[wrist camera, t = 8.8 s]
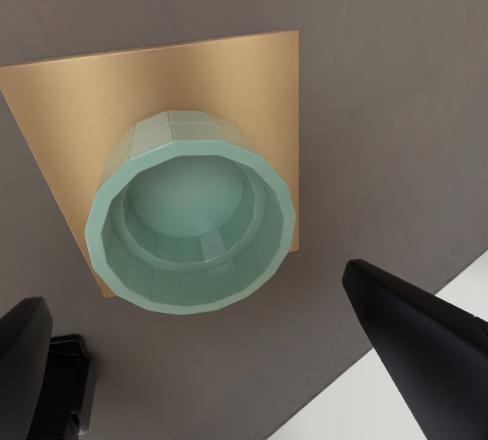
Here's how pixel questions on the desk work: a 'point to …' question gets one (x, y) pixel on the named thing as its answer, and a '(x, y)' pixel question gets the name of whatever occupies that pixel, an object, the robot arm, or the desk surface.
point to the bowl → (188, 215)
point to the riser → (154, 107)
